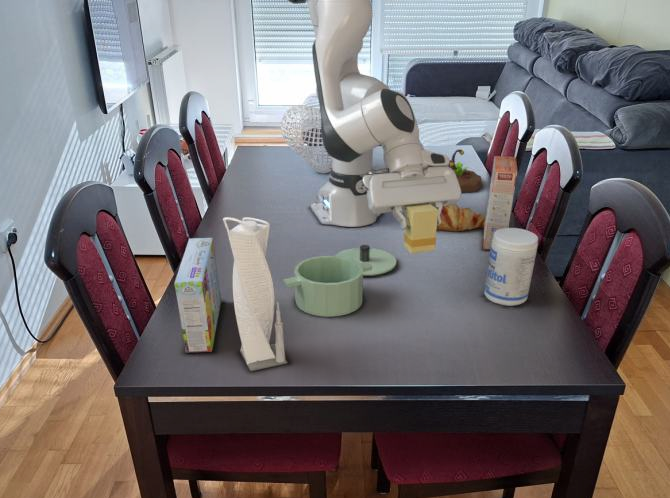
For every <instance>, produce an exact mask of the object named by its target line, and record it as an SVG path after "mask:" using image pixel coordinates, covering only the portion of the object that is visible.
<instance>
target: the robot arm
mask: <svg viewBox="0 0 670 498" xmlns="http://www.w3.org/2000/svg"><path fill="white" fill-rule="evenodd" d="M287 2H290V3H291V4H294V5H298V4H299V5H301V4H306V3H307V7H308V12H309V17H310V20H311V24H312V29H313V33H314V36H315V39H314V42H313V43H312V47H311V50H312V51H311V52H312V62H313V70H314V71H313V72H314V80H315V84H316V88H315V92H316V97H317V100H318V105H319V110H320V112H321V114H320V115H321V116H320V118H321V120H320V122H321V124H320V127H321V129H320V133H321V134H320V136H321V138H322V139H321V142H322V141H323V144H324V147H325V148H324V150H325V151H327V152H328V154H329V155H330V156H331V157H332V159H331V160H332V164H331V165H332V168H329V169H331V171H329V172H328V173H329V175H328V176H329V177H328V181H327V182H326V183H324V184H323V185H322V187H320V188H319V190H318V194H316V201H315V202H313V203H311V204H310V209H311V211H312V212H313V213H314V215H315V216H316V218H317V219H318V220H319V222H320V223H321V224H322V225H331V226H339V227H344V228H357V227H365V226H368V225H372V224H374V223H375V222H376V221H377V218H378V217H379V216H381V215H382V214H384V213H392V216H393V217H394V218H395V220H396V221H397V222H398V223H399V224H400V227H401V230H403V231H405V229H409V228H410V227H411V224H410V220H409V218H408V219H406V218H405V217H406V216H405V215H403V213H402V212H403V211H406V206H414V205H423V204H431V205H432V206H434V207H435V208H436V209H437V210H438V216H437V226H439V225H440V224H441V219H440V213H441V210H442V206H449V205H455V204H456V205H457V203H458V202H459V201H460V199H461V197H462V193H463V192H461V188H460V185H459V182H458V179H457V177H456V174H455V172H454V171H453V170H452V169H451V168H450V167H448V165H449V163H450V161H449V160H450V158H449V156H448V155H446V154H444V153H443V154H442V153H438V152H434V151H430V150H427V149H425V148H424V145H423V144H422V142H421V140H420V128H419V125H418V122H417V121H418V120H417V118H416V116H415V113H414V110H413V108H412V105H411V104H410V101H409V99H408V98H407V96H406V95H405V94H403V93H402V92H399V91H395V90H393V89H390V87H389V86H388V85H387V84H386V83H384V82H383V81H381V80H380V79H378V78H376V77H374V76H369V75H366V74H363V73H361V72H360V70H359V65H358V63H359V62H358V57H359V54H360V53H361V51H362V49H363V47H364V46H363V45H364V38H365V37H366V35H367V34H368V32H369V30H370V27H371V25H372V20H373V13H374V12H373V6H372V5H373V4H372V1H371V0H287ZM380 146H381V148H382V151H383V157H382V158H383V163H384V166H385V168H380V169H374V168H373V158H374V149H376V148H377V147H380ZM327 152H326V153H327ZM331 157H330V158H331Z"/></svg>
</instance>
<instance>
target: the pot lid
mask: <svg viewBox="0 0 670 498" xmlns="http://www.w3.org/2000/svg"><path fill="white" fill-rule="evenodd" d="M334 256H340V257H345V258H349V259H352V260H354V261H356V262H358V263H365V262H368V263H369V264H370V265H372V270H370V271H365V272H363V276H378V275H382V274H385V273H389V272H390V271H392V270H394V268H395V267H396V266H397V258H396V257H395V256H394V254H392V253H390V252H388V251H386V250H383V249H379V248H374V247H371V246H370V245H368V244H362V245H360V246H359V247H354V248H353V247H352V248H347V249H344V250H341V251H339V252H337V253H336V254H335V255H334Z"/></svg>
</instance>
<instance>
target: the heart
mask: <svg viewBox="0 0 670 498" xmlns="http://www.w3.org/2000/svg"><path fill="white" fill-rule="evenodd" d="M306 113H307V114H306ZM302 116H303V118H302ZM298 121H299V122H298ZM302 121H303V122H302ZM280 131H281V135H282V137H283V140H284V142H285V143H286V144H287V146H288V147H289V148H290V149H291V150H292V151H293V152H294V153H295V154H296V155H298V156H299V157H300V158H301V159H302V160H303V161H304V162H306V164H308V165H309V166H310V167H311V168H312V169H314V170H315V171H316V172H318V173H320V174H327V173H330V172H329V171H331V169H329V168H332V157H331V156H330V155H329V154H328V152H327V151H326V150H325V147H324V144H323V141H322V137H320V136H321V112H320V108H316V107H313V106H310V105H307V104H297V105H294V106H291V107H290V108H289V109H287V110H286V111H285V113H284V114H283V116H282V118H281V122H280ZM316 131H317V132H316ZM316 135H317V136H316ZM294 136H295V137H294ZM302 137H303V138H304V139H303V138H302ZM306 138H308V139H307V140H306ZM311 139H312V141H310V140H311ZM315 139H316V141H315ZM320 140H321V141H320ZM301 142H302V143H301ZM305 143H307V144H305ZM310 144H311V146H310ZM315 144H316V146H315ZM320 145H321V146H320ZM315 149H316V150H315ZM320 149H321V150H320ZM325 153H326V154H325Z"/></svg>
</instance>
